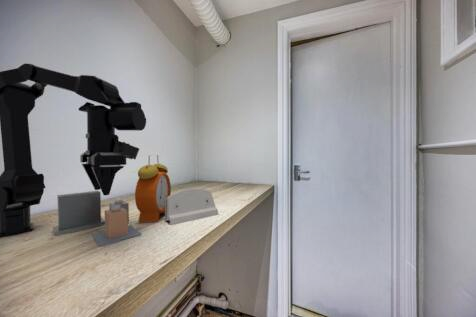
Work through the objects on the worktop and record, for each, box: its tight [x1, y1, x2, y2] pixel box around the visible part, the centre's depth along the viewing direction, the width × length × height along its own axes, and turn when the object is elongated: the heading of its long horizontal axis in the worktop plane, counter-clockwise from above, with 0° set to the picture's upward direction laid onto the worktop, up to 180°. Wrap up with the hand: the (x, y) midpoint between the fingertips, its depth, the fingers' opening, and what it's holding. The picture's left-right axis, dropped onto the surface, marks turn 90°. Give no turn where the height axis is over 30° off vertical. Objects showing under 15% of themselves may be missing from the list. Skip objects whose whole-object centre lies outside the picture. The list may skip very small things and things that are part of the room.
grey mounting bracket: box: [164, 188, 219, 226], centre depth 65 cm, size 17×5×10 cm, turn 127°
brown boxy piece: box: [104, 205, 129, 239], centre depth 50 cm, size 4×4×7 cm
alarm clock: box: [134, 154, 172, 223], centre depth 65 cm, size 13×6×20 cm, turn 178°
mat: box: [90, 224, 143, 247], centre depth 50 cm, size 9×9×1 cm
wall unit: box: [52, 190, 105, 237], centre depth 55 cm, size 5×11×10 cm, turn 136°
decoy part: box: [108, 197, 130, 224], centre depth 59 cm, size 4×4×7 cm
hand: (101, 192), depth 50 cm, fingers open, 9 cm apart
